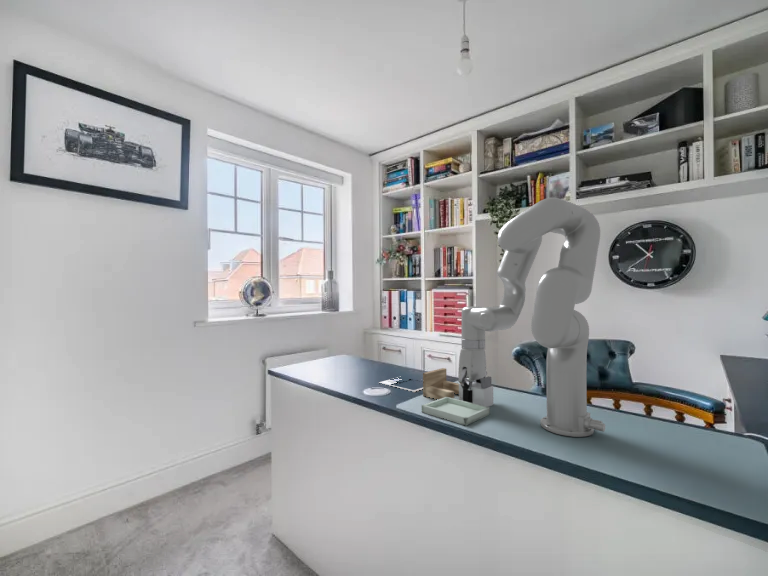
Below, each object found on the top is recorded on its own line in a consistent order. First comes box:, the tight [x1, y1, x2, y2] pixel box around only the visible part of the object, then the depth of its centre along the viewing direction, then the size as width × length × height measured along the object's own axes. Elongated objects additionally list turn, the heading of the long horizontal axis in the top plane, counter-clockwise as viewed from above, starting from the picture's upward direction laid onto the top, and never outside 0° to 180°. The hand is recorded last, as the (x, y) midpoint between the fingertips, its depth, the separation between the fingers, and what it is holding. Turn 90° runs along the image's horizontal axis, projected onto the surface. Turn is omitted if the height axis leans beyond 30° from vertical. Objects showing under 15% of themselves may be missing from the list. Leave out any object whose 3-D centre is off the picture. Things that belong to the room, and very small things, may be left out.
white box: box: [458, 375, 494, 408], centre depth 118 cm, size 9×6×9 cm, turn 44°
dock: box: [422, 367, 460, 400], centre depth 126 cm, size 12×12×8 cm
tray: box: [421, 397, 491, 426], centre depth 108 cm, size 16×13×2 cm
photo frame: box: [378, 377, 423, 393], centre depth 142 cm, size 15×1×18 cm
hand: (473, 399), depth 118 cm, fingers closed on white box, 6 cm apart
